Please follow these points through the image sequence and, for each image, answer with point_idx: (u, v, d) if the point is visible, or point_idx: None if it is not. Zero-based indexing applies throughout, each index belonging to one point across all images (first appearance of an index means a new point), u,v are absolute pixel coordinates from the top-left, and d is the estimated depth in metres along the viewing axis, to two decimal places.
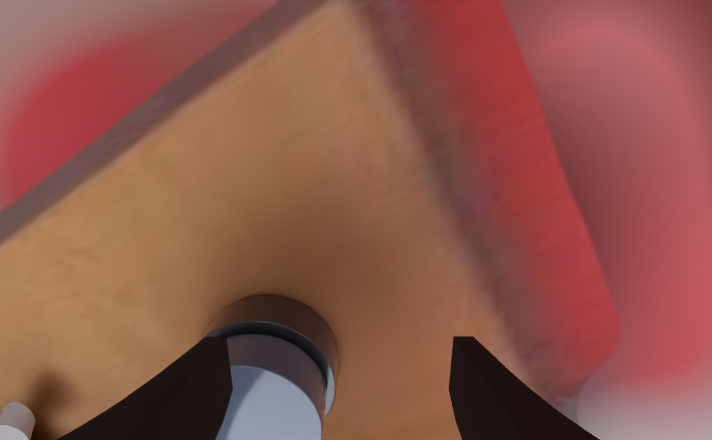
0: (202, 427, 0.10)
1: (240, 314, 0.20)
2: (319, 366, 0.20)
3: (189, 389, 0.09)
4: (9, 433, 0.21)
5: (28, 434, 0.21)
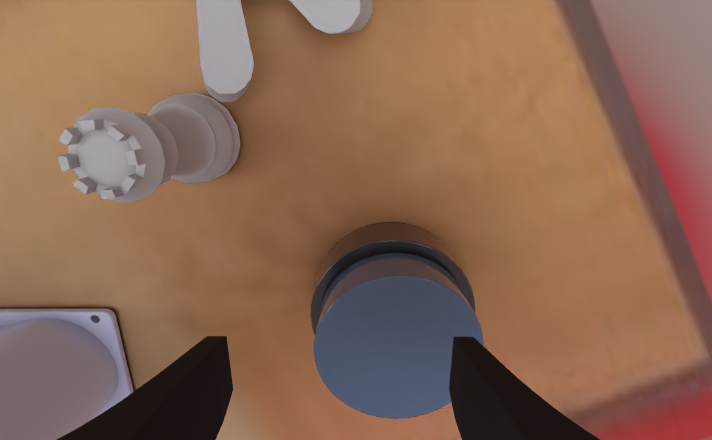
0: (202, 427, 0.10)
1: None
2: None
3: (189, 389, 0.09)
4: (340, 7, 0.14)
5: (334, 33, 0.14)
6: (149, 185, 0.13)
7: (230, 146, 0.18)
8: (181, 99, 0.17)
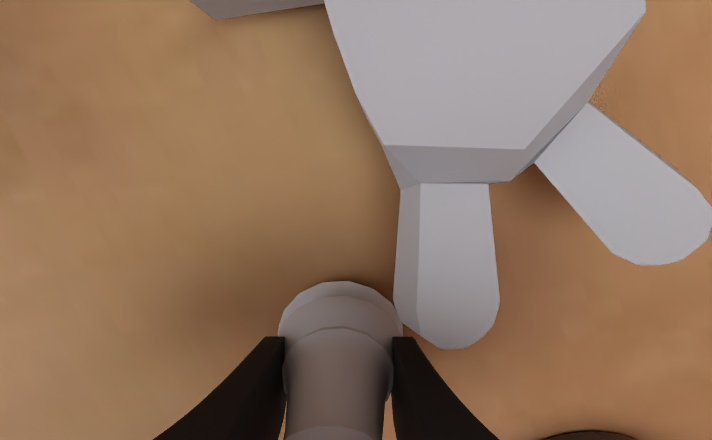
0: (269, 427, 0.10)
1: None
2: None
3: (262, 389, 0.09)
4: (669, 230, 0.08)
5: (644, 262, 0.09)
6: None
7: None
8: (343, 313, 0.11)
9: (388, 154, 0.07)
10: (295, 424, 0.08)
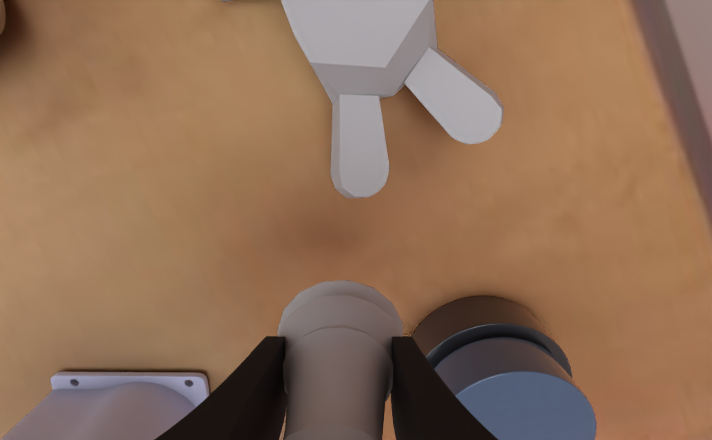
0: (270, 427, 0.10)
1: None
2: None
3: (263, 389, 0.09)
4: (479, 121, 0.15)
5: (470, 143, 0.15)
6: None
7: None
8: (343, 312, 0.11)
9: (314, 70, 0.13)
10: (295, 423, 0.08)
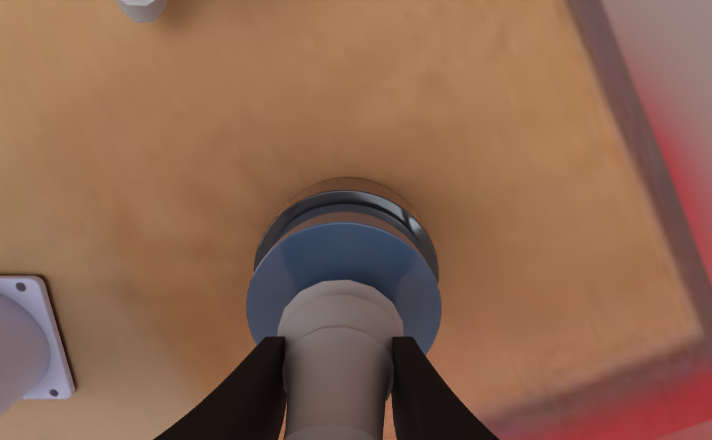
0: (270, 427, 0.10)
1: None
2: None
3: (262, 389, 0.09)
4: None
5: None
6: None
7: None
8: (343, 311, 0.11)
9: None
10: (295, 423, 0.08)
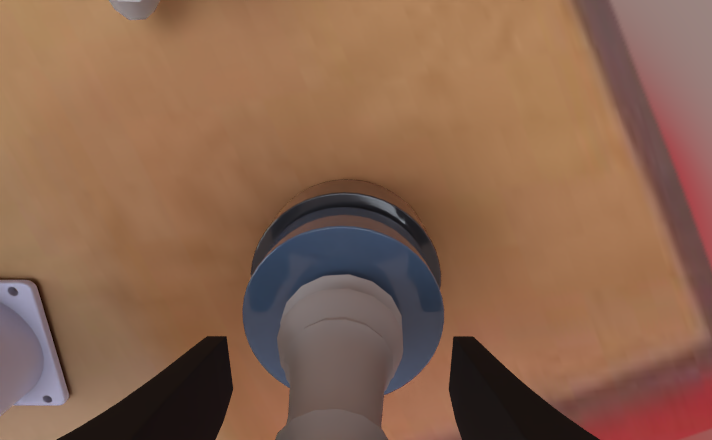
0: (202, 427, 0.10)
1: None
2: None
3: (189, 389, 0.09)
4: None
5: None
6: None
7: (401, 356, 0.12)
8: (343, 304, 0.11)
9: None
10: (298, 409, 0.09)
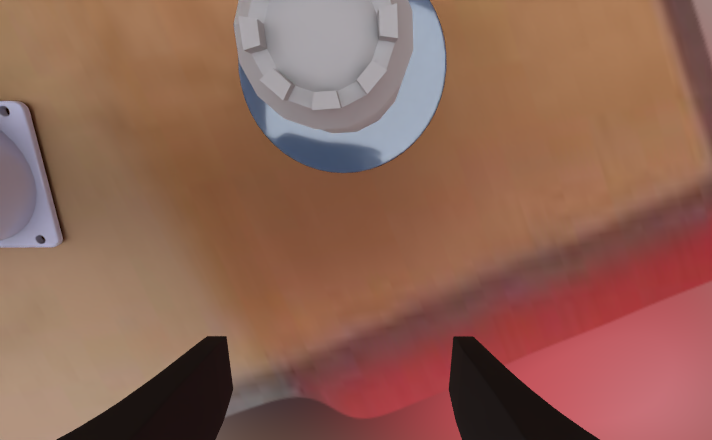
0: (202, 427, 0.10)
1: None
2: None
3: (189, 389, 0.09)
4: None
5: None
6: (383, 92, 0.07)
7: None
8: None
9: None
10: None
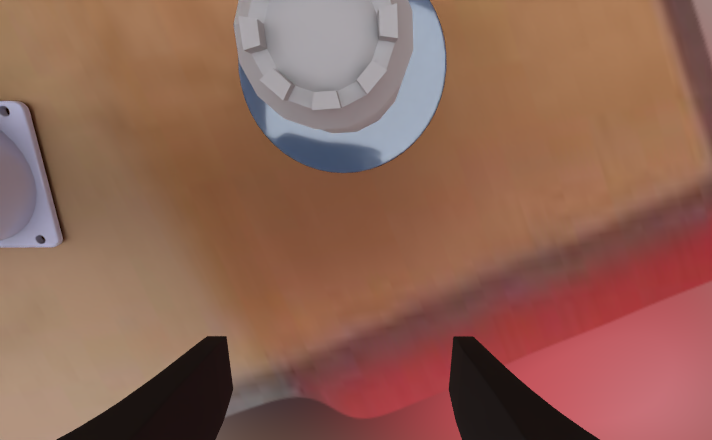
0: (202, 427, 0.10)
1: None
2: None
3: (189, 389, 0.09)
4: None
5: None
6: (383, 92, 0.07)
7: None
8: None
9: None
10: None
